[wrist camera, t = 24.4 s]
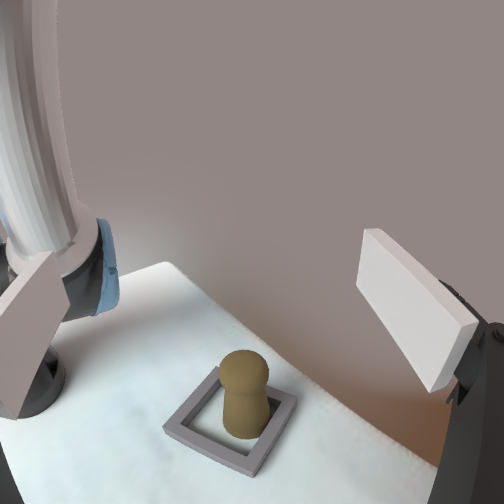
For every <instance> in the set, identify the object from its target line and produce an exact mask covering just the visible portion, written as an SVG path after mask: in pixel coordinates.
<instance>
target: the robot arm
mask: <svg viewBox="0 0 504 504" xmlns="http://www.w3.org/2000/svg"><path fill="white" fill-rule="evenodd" d="M0 219H1V221H2V223H3V225H4V228H5V230H6V232H7V234H8V239H7V243H4V244H3V243H2V238H1V237H0V417H4V418H8V419H12V420H17V418H26V417H30V416H33V415H35V414H38V413H40V412H41V411H43V410H44V409H46V408H47V407H48V406H49V405H51V404H52V403H53V401H54V400H55V399H56V398H57V396H58V395H59V393H60V392H61V390H62V387H63V384H64V380H65V369H64V366H63V364H62V362H61V360H60V358H59V356H58V354H57V353H56V351H55V350H54V349H53V348H52V347H51V346H50V343H51V341H52V339H53V337H54V335H55V333H56V331H57V329H58V327H59V325H60V323H62V322H66V321H70V320H74V319H78V318H83V317H87V316H97V315H98V314H99V313H102V312H105V311H108V310H111V309H113V308H114V307H115V306H116V305H117V304H118V301H119V295H120V292H119V279H118V272H117V269H116V266H117V265H116V256H115V249H114V243H113V237H112V233H111V228H110V225H109V223H108V221H107V220H105V219H97V218H95V216H94V214H93V212H92V211H91V209H90V208H89V207H87V206H86V205H85V204H83V203H81V202H79V201H78V198H77V193H76V189H75V184H74V180H73V175H72V170H71V165H70V160H69V154H68V149H67V142H66V136H65V130H64V122H63V115H62V107H61V98H60V88H59V76H58V60H57V0H0ZM356 286H357V287H358V289H359V290H360V291H361V293H362V294H363V296H364V297H365V298H366V300H367V301H368V303H369V304H370V305H371V307H372V308H373V310H374V311H375V312H376V314H377V315H378V317H379V318H380V319H381V321H382V323H383V324H384V325H385V327H386V328H387V330H388V331H389V333H390V334H391V335H392V337H393V339H394V340H395V341H396V343H397V345H398V346H399V348H400V349H401V350H402V352H403V354H404V355H405V357H406V358H407V360H408V361H409V362H410V364H411V366H412V367H413V369H414V370H415V372H416V373H417V375H418V376H419V378H420V380H421V381H422V383H423V384H424V386H425V387H426V389H427V391H428V392H429V393H431V392H434V391H436V390H439V389H442V388H444V387H446V386H447V385H448V383H449V381H450V379H451V378H452V376H453V374H454V375H455V376H456V378H457V379H458V382H457V384H456V386H455V387H454V389H453V391H452V392H451V394H450V396H449V397H448V399H447V401H446V403H447V404H448V403H449V402H450V401H451V399H452V398H453V402H452V408H451V414H450V420H449V425H448V430H447V435H446V440H445V444H444V448H443V452H442V456H441V460H440V464H439V468H438V471H437V475H436V478H435V481H434V485H433V488H432V491H431V494H430V497H429V500H428V503H427V504H504V324H502V323H496V322H494V323H490V324H488V323H487V322H486V321H485V320H484V319H483V318H482V317H481V316H480V315H479V314H478V313H477V312H476V311H475V310H474V308H472V307H471V306H470V305H469V304H468V303H467V302H465V300H464V299H463V298H462V297H461V296H459V294H458V293H457V292H456V291H455V290H454V289H453V288H452V287H451V286H449V285H447V284H446V283H444V282H442V281H441V280H437V279H436V278H435V277H434V276H433V275H432V274H431V273H430V272H429V271H428V270H427V269H425V268H424V267H423V266H422V265H421V264H420V263H419V262H418V261H417V260H416V259H414V258H413V257H412V256H411V255H410V254H409V253H408V252H407V251H405V250H404V249H403V248H402V247H401V246H400V245H398V244H397V243H396V242H395V241H394V240H393V239H392V238H390V237H389V236H388V235H387V234H386V233H385V232H383V231H382V230H381V229H380V228H379V229H364V235H363V243H362V250H361V257H360V263H359V269H358V276H357V281H356ZM0 504H24V502H23V499H22V497H21V495H20V493H19V491H18V488H17V486H16V484H15V481H14V479H13V476H12V474H11V471H10V468H9V466H8V463H7V460H6V458H5V455H4V452H3V449H2V446H1V443H0Z"/></svg>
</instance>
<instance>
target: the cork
mask: <svg viewBox="0 0 504 504" xmlns="http://www.w3.org/2000/svg"><path fill="white" fill-rule="evenodd" d="M218 374H219V379H220V383H221V384H222V386H223V387H224V388H225V394H224V409H223V424H224V427H225V429H226V430H227V432H228V433H229V434H231V435H232V436H234V437H237V438H239V439H254V438H257V437H259V436H261V434H262V433H263V431H264V430H265V428H266V427H267V425H268V423H269V422H270V420H271V418H272V417H271V413H270V408H269V404H268V399H267V395H266V390H265V385H266V383H267V381H268V378H269V368H268V365H267V363H266V361H265V359H264V358H263V357H262V356H261V355H259V354H258V353H256V352H254V351H250V350H238V351H234V352H232V353H230V354H228V355H227V356H226V357H225V358H224V359H223V360H222V362H221V363H220V367H219V371H218Z"/></svg>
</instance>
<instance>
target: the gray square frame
mask: <svg viewBox="0 0 504 504" xmlns="http://www.w3.org/2000/svg"><path fill="white" fill-rule="evenodd" d="M218 371H219V367H217V366H216V367H215V368H214V369H213V370H212V372H211V373H210V374H209V375H208V376H207V377H206V378H205V379H204V381H203V382H202V383H201V384H200V385H199V386H198V387H197V389H196V390H195V391H194V392H193V393H192V394H191V395H190V396H189V398H188V399H187V400H186V401H185V402H184V403H183V404H182V405H181V406H180V407H179V409H178V410H177V411H176V412H175V413H174V414H173V415H172V416H171V417H170V418H169V420H168V421H167V422H166V423H165V424H164V425H163V426H162V427H163V429H164V431H165V434H167V435H169V436H170V437H172V438H174V439H175V440H177V441H179V442H181V443H182V444H184V445H186V446H188V447H190V448H191V449H193V450H195V451H197V452H199V453H201V454H203V455H205V456H207V457H209V458H211V459H213V460H215V461H217V462H219V463H221V464H223V465H225V466H227V467H229V468H231V469H233V470H236V471H238V472H240V473H242V474H245V475H247V476H249V477H252V478H253V477H254V476H255V474H256V473H257V471H258V470H259V468H260V466H261V465H262V463H263V462H264V460H265V458H266V457H267V455H268V453H269V452H270V450H271V449H272V447H273V445H274V443H275V442H276V440H277V438H278V437H279V435H280V433H281V432H282V430H283V428H284V426H285V425H286V423H287V421H288V419H289V417H290V416H291V414H292V412H293V410H294V408H295V407H296V405H297V399H298V397H297V396H294V395H291V394H288V393H285V392H283V391H280V390H277V389H274V388H271V387H268V386H266V385H265V390H266V395H267V399H268V404H269V405H271V406H274V407H276V408H278V409H277V410H276V412H275V414H274V415H273V417H272V418H271V420H270V422H269V423H268V425H267V427H266V428H265V430H264V431H263V433H262V434H261V436H260V438H259V439H258V441H257V442H256V444H255V445H254V447H253V448H252V450H251V451H250V453H249V454H248V456H247V457H246V456H244V455H242V454H239V453H237V452H235V451H233V450H230V449H228V448H226V447H224V446H222V445H220V444H218V443H216V442H214V441H212V440H210V439H207V438H205V437H204V436H202V435H200V434H198V433H196V432H194V431H192V430H190V429H188V428H186V426H187V425H188V424H189V423H190V422H191V420H192V419H193V418H194V417H195V416H196V414H197V413H198V412H199V411H200V410H201V409H202V407H203V406H204V405H205V404H206V403H207V401H208V400H209V399H210V398H211V397H212V395H213V394H214V393H215V392H216V391H217V389H218V388H219V387H220V386H222V384H221V383H220V379H219V374H218Z"/></svg>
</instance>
